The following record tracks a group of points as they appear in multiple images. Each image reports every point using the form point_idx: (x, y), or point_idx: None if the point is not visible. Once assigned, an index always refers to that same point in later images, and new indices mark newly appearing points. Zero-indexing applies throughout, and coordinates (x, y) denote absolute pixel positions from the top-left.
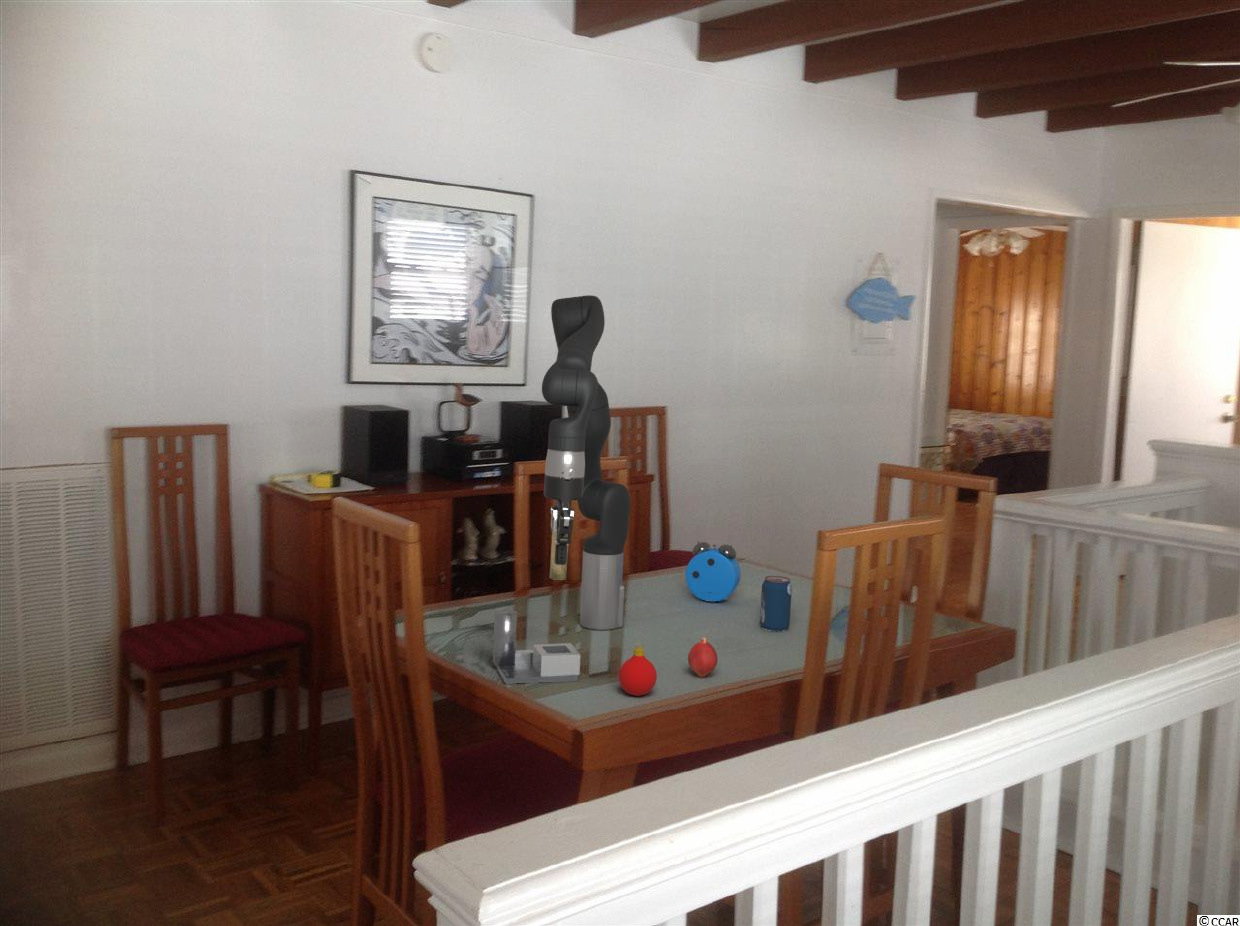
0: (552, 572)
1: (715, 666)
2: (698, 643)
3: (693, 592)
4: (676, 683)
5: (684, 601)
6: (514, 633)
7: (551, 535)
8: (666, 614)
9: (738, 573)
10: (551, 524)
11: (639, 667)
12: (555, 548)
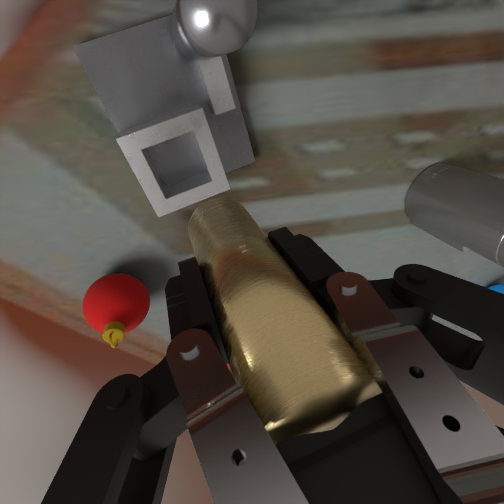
0: (199, 223)
1: None
2: (227, 365)
3: (497, 286)
4: None
5: (489, 272)
6: (196, 52)
7: (404, 266)
8: (451, 263)
9: None
10: (396, 366)
11: (91, 323)
12: (203, 305)
